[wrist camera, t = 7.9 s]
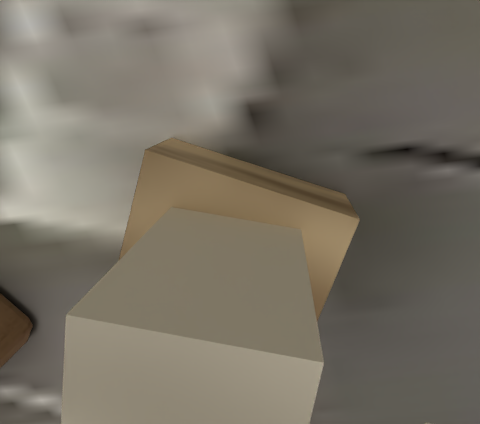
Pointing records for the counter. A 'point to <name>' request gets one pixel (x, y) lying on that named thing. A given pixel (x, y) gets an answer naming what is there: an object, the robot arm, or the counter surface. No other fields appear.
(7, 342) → the wooden block
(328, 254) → the oak base
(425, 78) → the counter surface
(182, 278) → the cream block
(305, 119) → the counter surface
